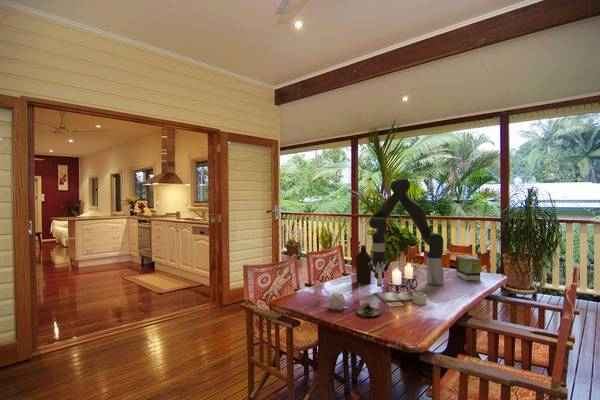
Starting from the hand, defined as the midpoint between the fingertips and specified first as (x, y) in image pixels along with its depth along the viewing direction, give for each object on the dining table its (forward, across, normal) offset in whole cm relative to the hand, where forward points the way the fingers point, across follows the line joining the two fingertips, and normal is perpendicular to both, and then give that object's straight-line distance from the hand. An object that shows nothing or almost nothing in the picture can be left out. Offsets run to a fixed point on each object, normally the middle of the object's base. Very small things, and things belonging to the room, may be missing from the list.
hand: (379, 278), depth 198 cm
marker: (+5, 0, 0) cm, 5 cm away
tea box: (+9, -72, -17) cm, 74 cm away
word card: (+8, +2, +24) cm, 26 cm away
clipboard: (+8, -4, +13) cm, 16 cm away
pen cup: (+8, -12, +24) cm, 28 cm away
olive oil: (+8, +2, -21) cm, 23 cm away
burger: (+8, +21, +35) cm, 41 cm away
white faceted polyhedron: (+8, +34, +25) cm, 42 cm away
